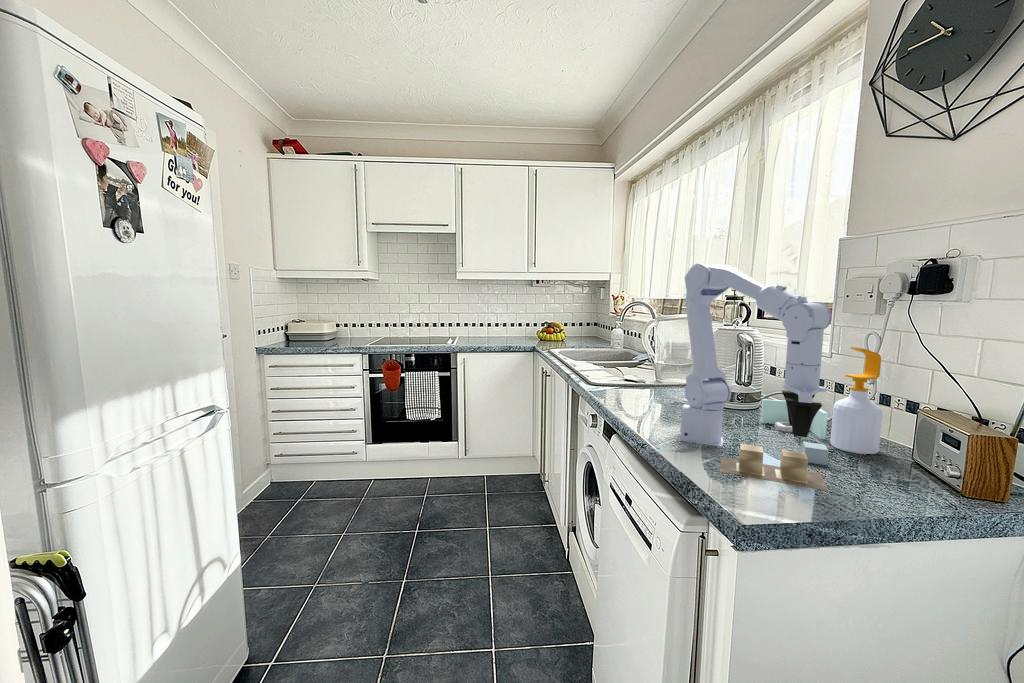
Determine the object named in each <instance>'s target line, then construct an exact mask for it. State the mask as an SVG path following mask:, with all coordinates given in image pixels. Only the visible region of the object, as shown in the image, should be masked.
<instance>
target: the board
mask: <svg viewBox="0 0 1024 683" xmlns="http://www.w3.org/2000/svg"><path fill="white" fill-rule="evenodd" d="M719 466H720V467H719V473H725V474H730V475H736V476H742V477H748V478H754V479H759V480H764V481H770V482H776V483H781V484H785V485H794V486H796V487H797V486H798V487H805V488H810V489H814V490H821V491H827V492H829V488H828V486H827V484H826V482H825V480H824V478H823V476H822V473H820V472H815V471H809V470H807V481H806V482H803V481H797V480H791V479H785V478H782V477H781V473H780V466H779V465H778V466H777V465H770V464H765V463H763V465H762V474H756V473H750V472H744V471H739V459H734V458H728V457H721V458H720V465H719Z"/></svg>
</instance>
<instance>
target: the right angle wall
mask: <svg viewBox="0 0 1024 683" xmlns="http://www.w3.org/2000/svg"><path fill="white" fill-rule="evenodd" d="M828 415H829V414H828V412H826V411H825V410H823V409H822V408H820V410H819V411H818V412H817V413H816V415H815V417H814V419H813V421H812V424H811V427H810V430H809V432H811V431H812V432H811V433H812V434H814V435H815V436H817V437H818V438H819V439H820V440H826V438H827V437H826V436H827V427H828V426H827V425H828V424H827V422H828ZM760 423H761V424H767V423H769V424H771V425H774V427H773V428H774V429H775V430H777V431H780V432H786V433H789V434H790V433H793V430H792V426H790V423H789V419H788V410H787V404H786V400H785V399H784V400H783V399H782V400H780V399H766V398H762V401H761V419H760Z"/></svg>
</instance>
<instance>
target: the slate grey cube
mask: <svg viewBox="0 0 1024 683" xmlns="http://www.w3.org/2000/svg"><path fill="white" fill-rule="evenodd" d="M801 448H802V449H801V452H802V453H805V454H806V456H807V458H808V464H815V465H816V464H817V465H822V466H827V465H828V457H829V449H828V448H827V445H825V444H822V443H815V442H807V441H802V447H801Z"/></svg>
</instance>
